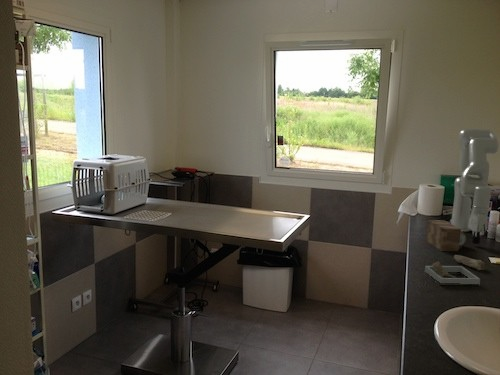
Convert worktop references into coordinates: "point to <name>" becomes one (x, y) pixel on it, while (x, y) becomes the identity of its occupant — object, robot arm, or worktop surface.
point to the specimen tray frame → (470, 280)
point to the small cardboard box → (443, 235)
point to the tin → (462, 239)
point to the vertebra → (441, 270)
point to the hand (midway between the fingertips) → (475, 243)
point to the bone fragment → (470, 262)
